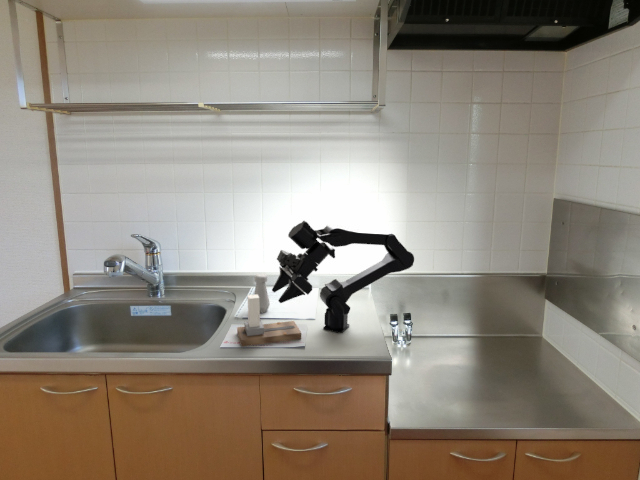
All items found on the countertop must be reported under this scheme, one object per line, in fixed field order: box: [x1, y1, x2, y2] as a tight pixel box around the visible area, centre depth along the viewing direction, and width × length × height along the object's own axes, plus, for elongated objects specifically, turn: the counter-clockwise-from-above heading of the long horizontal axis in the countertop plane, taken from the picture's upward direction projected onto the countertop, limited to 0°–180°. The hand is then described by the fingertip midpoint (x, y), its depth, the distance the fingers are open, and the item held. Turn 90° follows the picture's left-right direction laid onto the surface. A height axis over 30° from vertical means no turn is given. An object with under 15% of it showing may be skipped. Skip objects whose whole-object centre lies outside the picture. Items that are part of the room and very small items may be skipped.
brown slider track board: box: [236, 320, 302, 347], centre depth 135 cm, size 18×9×2 cm, turn 108°
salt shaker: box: [253, 273, 271, 313], centre depth 153 cm, size 6×6×13 cm
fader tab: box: [243, 294, 264, 336], centre depth 132 cm, size 5×6×11 cm
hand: (276, 296), depth 133 cm, fingers open, 9 cm apart
